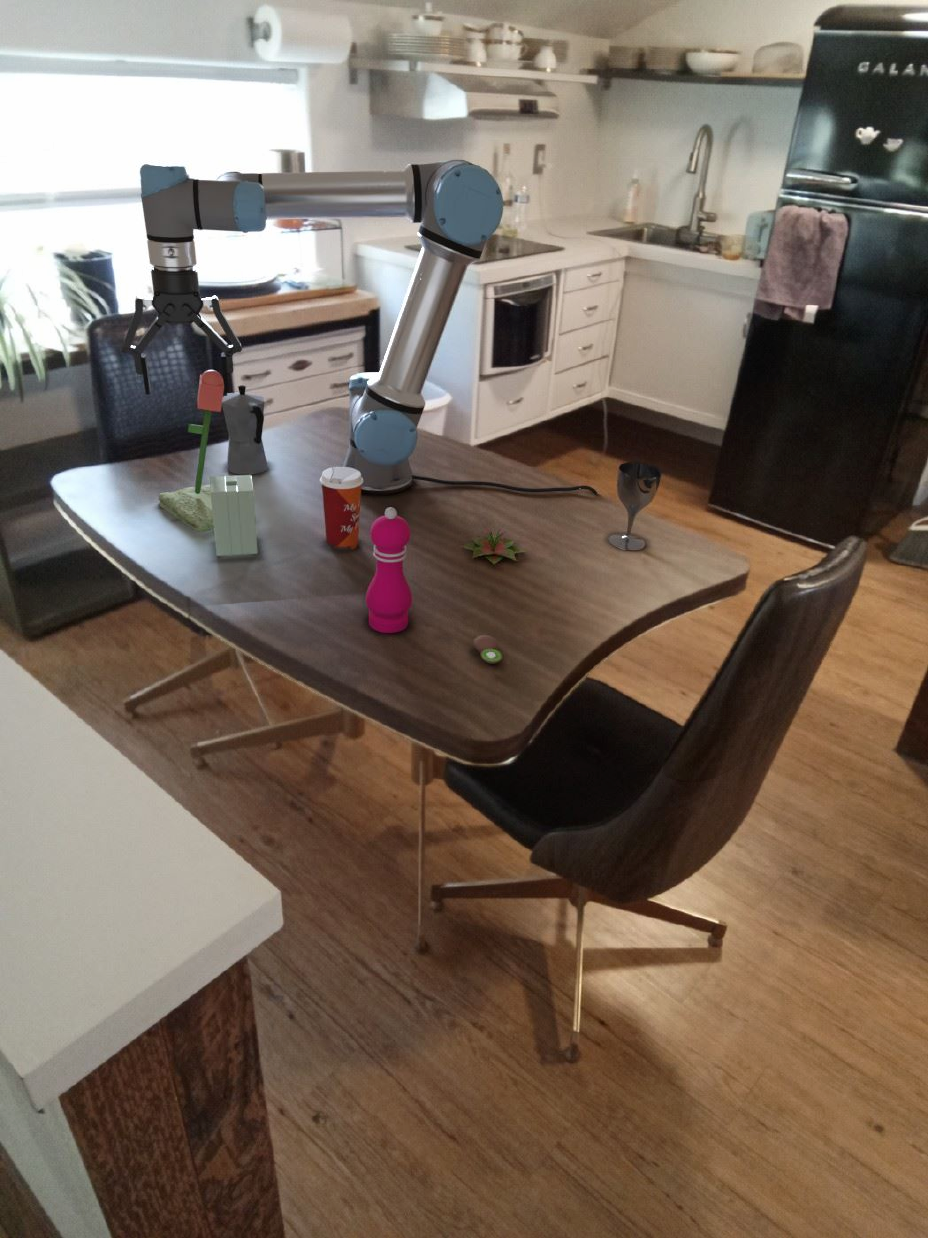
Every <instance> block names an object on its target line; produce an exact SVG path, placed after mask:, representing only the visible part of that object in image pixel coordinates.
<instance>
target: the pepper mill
mask: <svg viewBox="0 0 928 1238" xmlns="http://www.w3.org/2000/svg"><path fill="white" fill-rule="evenodd" d="M369 537H370V539H371V542H372V543H373V547H372V549H373V553H372V554H373V557H374V558H375V559H376V568H375V569H376V570H375V573H374V575H373V577H372V579H371V581H370V584H369V585H368V588H367V590H366V594H365V605H366V606H367V608H368V610H369V612H368V626H370V628H371V629H373V630H374V631H376V632H378V633H382V634H395V633H399V632H402V631H404V630H405V629H406V628H407V627H408V625H409V610H410V608H411V606H412V603H413V595H412V590H411V588H410V586H409V583H408V581H407V580H406V577H405V574H404V570H403V569H404V568H403V567H404V566H403V563H404V559H406V557H407V550H408V549H407V545H408V543H409V542H410V540H411V529H410V525H409V523H408V522H407V521H406V520H405V519H404V518H402V517H401V516H399V515H398V511H397V510H396V508H394V507H392V506H391V507H387V508H386V509H385V511H384V515H382V516H379V517H377V518H376V519H375V520H374V521H373V523H372V524H371V527H370V530H369Z"/></svg>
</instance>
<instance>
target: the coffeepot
mask: <svg viewBox="0 0 928 1238" xmlns="http://www.w3.org/2000/svg"><path fill="white" fill-rule="evenodd" d="M246 387H247V386H246V385H243V384H241V385H238V386H237V388H238V392H237V391H235V392H234V391H233V392H229V393H226V395H223V399H222V406H221V409H222V412H223V416H224V420H225V424H226V430H227V433H228V447H227V456H226V458H227V459H226V470H227V471H229V472H230V473H233V474H236V475H251V476H252V475H257V474H261V473H264V472H266V471H267V470H268V469H269V466H268V461H267V456H266V452H265V448H264V447H265V446H264V443H263V437H262V436H263V428H264V421H265V414H264V413H265V412H264V411H265V403H266V402H265V397H264V396H263V395H258V394H256V393H255V394H254V393H249V392H247V393H246V390H247V389H246Z"/></svg>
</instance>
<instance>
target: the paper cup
mask: <svg viewBox="0 0 928 1238" xmlns="http://www.w3.org/2000/svg"><path fill="white" fill-rule="evenodd" d="M319 483H320V484H321V491H322V503H323V513H324V514H323V515H324V516H323V517H324V526H325V527H324V528H325V538H326V542H327V543H328V544H329V545H330V546H334V547H338V548H346V547H350V550H355V549H356V548H357V547H358V541H359V528H360V514H361V513H360V512H361V497H362V493H361V484H362V483H363V478H362V477H361V473H360V472H359V471H358V470H356V469H354V468H350V467H343V466H332V467H329V468H328V467H327V468H326V469H324V470H323V471H322V474H321V476H320V477H319Z"/></svg>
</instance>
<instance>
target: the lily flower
mask: <svg viewBox="0 0 928 1238" xmlns="http://www.w3.org/2000/svg"><path fill="white" fill-rule="evenodd" d="M501 530H502V527H500V528H499V529H498V531H497V534H495V533H493V532H492V529H491V528H490V527H489V526H488V529H486V531H485V533H486V535H487V536H485V535H484V534H482V535H481V536H478V537H471V540H472V541H473V542H469V543H465V544H464V545H459V547H460V548H464V549H467V550H471V551H472V557H471V558H472V559H474V558H478V557H482V556H484V558H486V559H487V560H488V561H489V562H491V563H492V565H496V564H497V563H498V562H500V561H501V560H502V559H503V558H504V557H505V558H508V559H511V560H513V561H515V562H517V558H516V556H515V554H517V553H518V554H519V553H524V552H527V550H526V549H524V548H522V547H519V546H517V545H513V544H514V540H512V539H508V538H506V537H504V536H505V533H508V530H505V531H503V532H501V533H500V531H501ZM499 533H500V534H499ZM501 536H502V537H501Z"/></svg>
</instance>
